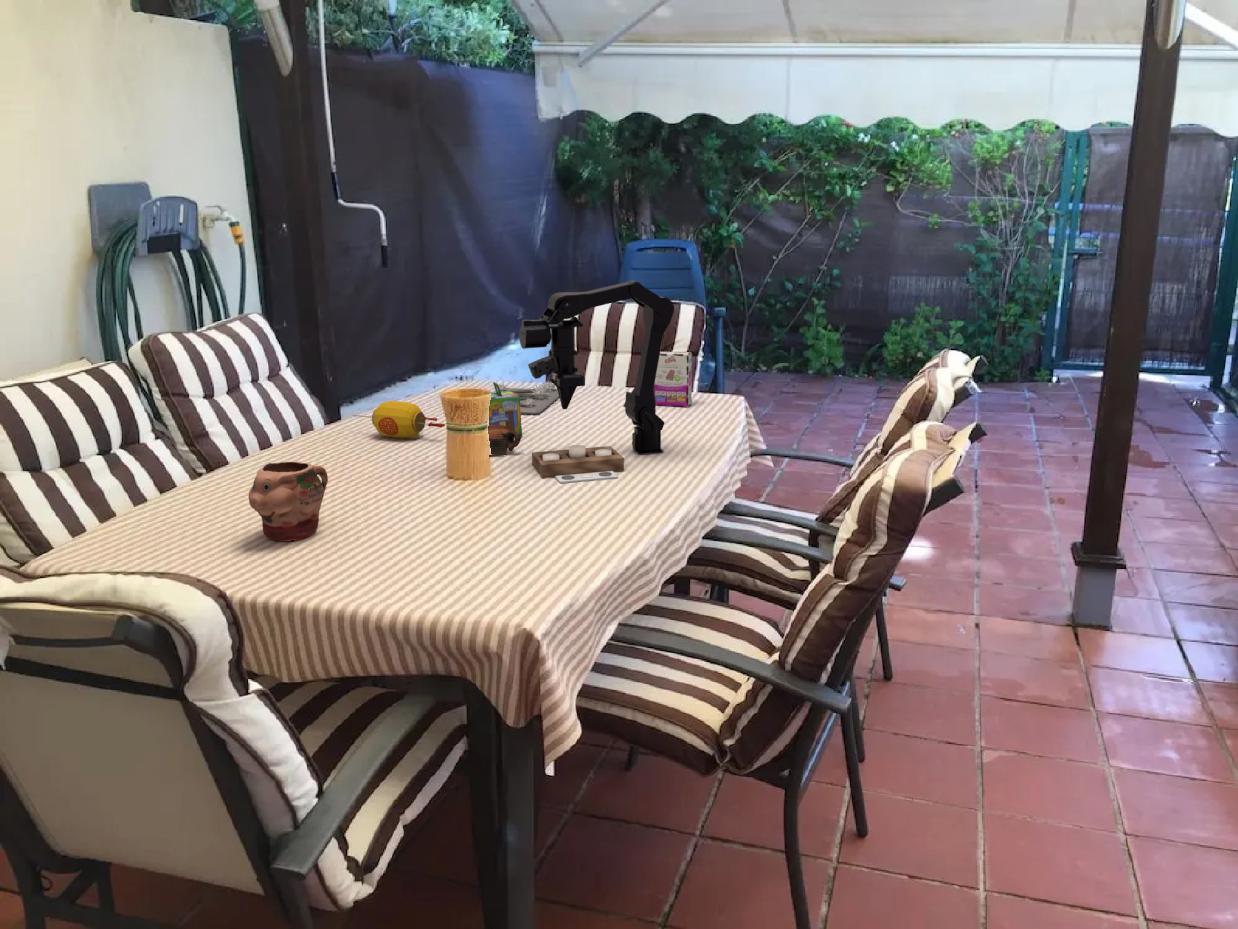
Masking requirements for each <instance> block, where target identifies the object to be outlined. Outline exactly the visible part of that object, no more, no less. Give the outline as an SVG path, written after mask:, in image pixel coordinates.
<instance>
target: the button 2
mask: <svg viewBox="0 0 1238 929" xmlns="http://www.w3.org/2000/svg"><path fill="white" fill-rule="evenodd" d="M607 455H611V450H608V449H599V450H596V451H595V456H607Z"/></svg>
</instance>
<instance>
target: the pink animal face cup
mask: <svg viewBox="0 0 1238 929" xmlns="http://www.w3.org/2000/svg"><path fill="white" fill-rule="evenodd" d="M327 472H328V471H327V470H326V469H325V468H324V467H323V466H321V465H312V464H311V463H308V462H300V461H282V462H271V463H270V462H269V463H266V464H265V465H264V466H262V467H261V468H260V469H258V470H257V473H256V476H255V478H254V480H253V483H252V484H253V485H252V486H251V488H250V490H249V492H248V502H249V506H250V507H251V508H252V509H253V510H254V511H256V512H257V513H258V515H259V516H260V517H261V522H262V523H261V524H262V526H261V527H262V531H263V532H262V533H263V536H264V537H265V538H267V539H268V540H273V541H281V542H283V541H284V542H289V541H290V542H292V541H291V540H294V541H298V540H302V539H306V538H309V537H311V536H312V534H313V535H314V534H315V533H316V532H317V531H318V529H319V520H320V511H321V508H322V507H321V506H322V502H323V500H324V496H325V495H324V494H325V493H326V492H325V491H326V489H327V484H328V482H329V478H328V473H327ZM310 535H311V536H310ZM308 536H309V537H308ZM305 537H306V538H305Z"/></svg>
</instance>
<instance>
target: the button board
mask: <svg viewBox="0 0 1238 929" xmlns="http://www.w3.org/2000/svg"><path fill="white" fill-rule="evenodd" d="M599 449H608V450H611V455H607V456H595V451H596V450H599ZM585 450H586V457H583V458H571V459H570V458H569V448H568V449H557V450H547V451H534V452H533V451H532V452H531V466H532V467H533V466H534V467H533V468H534V469H535V471H536V472H537V473H538V474H540V475H539V476H540V477H541V479H548V478H549V479H550V478H555V476H561V475H572V474H583V473H595V472H606V471H613V472H614V473H616V472H625V458H624V456H622V455H621V453H620V452H618V451H617V450H616V449H614V448H613V447H612V446H611V445H605V446H595V447H594V446H593V447H585ZM549 453H555V454H559V460H547V461H543V455H544V454H549Z"/></svg>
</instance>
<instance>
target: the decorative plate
mask: <svg viewBox="0 0 1238 929" xmlns="http://www.w3.org/2000/svg"><path fill="white" fill-rule="evenodd" d="M498 385H499V388H500V391H501V392H505V391H511V392H513V393H515V394H517V395H519V396H520V409H521V416H525V415H526V416H527V415H528V416H538V415H539V414H540V413H541V412H544V410H545V409H546V408H547V407H549V406H550V405H551V404H552V403H553V402H555V401H556V400H557V399H558V398H559V394H558V391H557V387H556V386H555V385H554V384H553V383H552V382H551V381H550V380H545V382H543V381H542V384H540V383H539V385H538V386H537V384H535V387H534V386H532V388H524V387H522V388H518V387H507V385H505V383H502V384H501V383H498ZM497 390H498V388H497ZM498 391H499V390H498Z"/></svg>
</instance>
